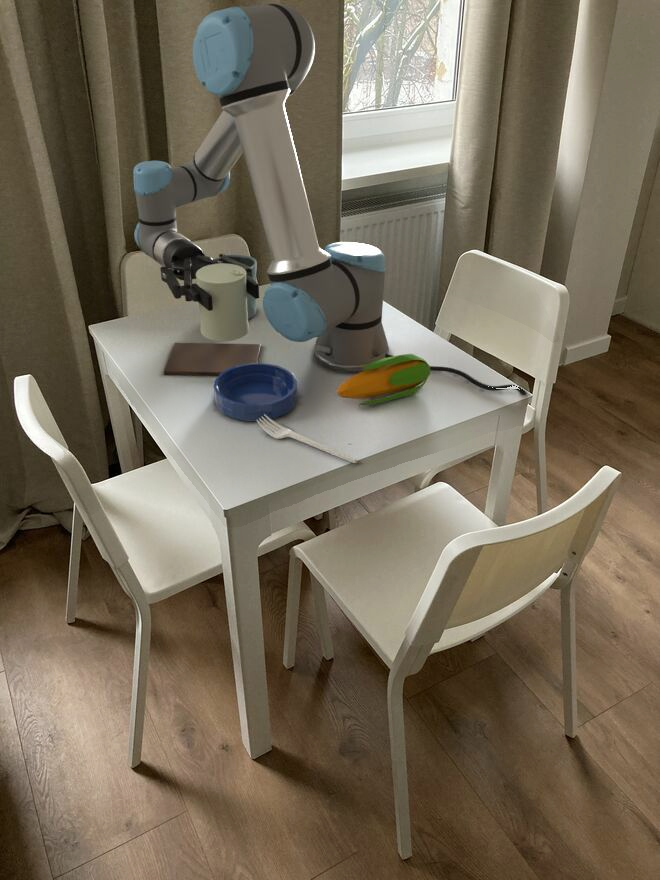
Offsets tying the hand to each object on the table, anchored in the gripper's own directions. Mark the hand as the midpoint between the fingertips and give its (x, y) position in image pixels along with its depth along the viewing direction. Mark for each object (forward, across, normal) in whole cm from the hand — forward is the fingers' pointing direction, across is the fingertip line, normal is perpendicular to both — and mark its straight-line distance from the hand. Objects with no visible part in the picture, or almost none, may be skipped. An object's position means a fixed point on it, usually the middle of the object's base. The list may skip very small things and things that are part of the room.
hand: (234, 297), depth 134 cm
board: (-11, 0, -18) cm, 21 cm away
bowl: (+7, 0, -18) cm, 19 cm away
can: (-5, 0, -9) cm, 10 cm away
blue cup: (-28, -15, -18) cm, 36 cm away
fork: (+24, 0, -18) cm, 30 cm away
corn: (+19, -21, -18) cm, 33 cm away
